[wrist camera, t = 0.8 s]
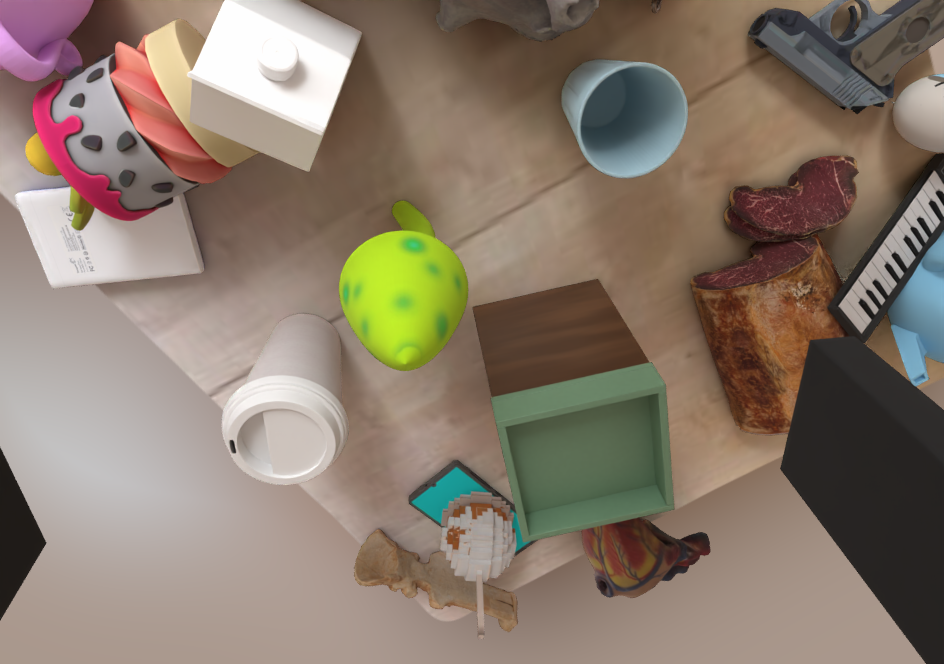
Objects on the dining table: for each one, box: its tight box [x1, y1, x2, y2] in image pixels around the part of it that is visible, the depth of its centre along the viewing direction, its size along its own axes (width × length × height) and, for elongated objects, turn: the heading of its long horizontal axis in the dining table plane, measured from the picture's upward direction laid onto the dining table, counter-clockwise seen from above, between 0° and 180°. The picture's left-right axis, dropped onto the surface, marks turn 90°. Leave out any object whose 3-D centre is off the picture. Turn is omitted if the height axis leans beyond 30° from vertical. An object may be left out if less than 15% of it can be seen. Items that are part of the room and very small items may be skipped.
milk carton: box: [187, 0, 362, 172], centre depth 43 cm, size 7×7×19 cm
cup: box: [561, 59, 688, 178], centre depth 51 cm, size 8×8×10 cm
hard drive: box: [15, 186, 205, 289], centre depth 56 cm, size 2×8×12 cm
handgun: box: [748, 0, 944, 114], centre depth 53 cm, size 2×14×12 cm
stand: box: [473, 279, 649, 397], centre depth 60 cm, size 12×12×15 cm
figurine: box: [354, 529, 518, 632], centre depth 76 cm, size 7×4×20 cm
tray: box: [491, 362, 674, 542], centre depth 52 cm, size 12×12×3 cm
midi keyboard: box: [827, 153, 944, 343], centre depth 60 cm, size 18×1×5 cm
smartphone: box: [409, 460, 539, 557], centre depth 76 cm, size 7×1×15 cm
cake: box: [25, 18, 260, 231], centre depth 48 cm, size 10×11×15 cm
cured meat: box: [690, 155, 859, 435], centre depth 63 cm, size 18×25×7 cm
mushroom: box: [339, 200, 468, 371], centre depth 47 cm, size 8×8×25 cm
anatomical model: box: [582, 517, 710, 598], centre depth 78 cm, size 9×13×15 cm
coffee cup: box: [221, 314, 349, 485], centre depth 57 cm, size 10×10×15 cm
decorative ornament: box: [440, 491, 516, 639], centre depth 69 cm, size 8×8×15 cm
